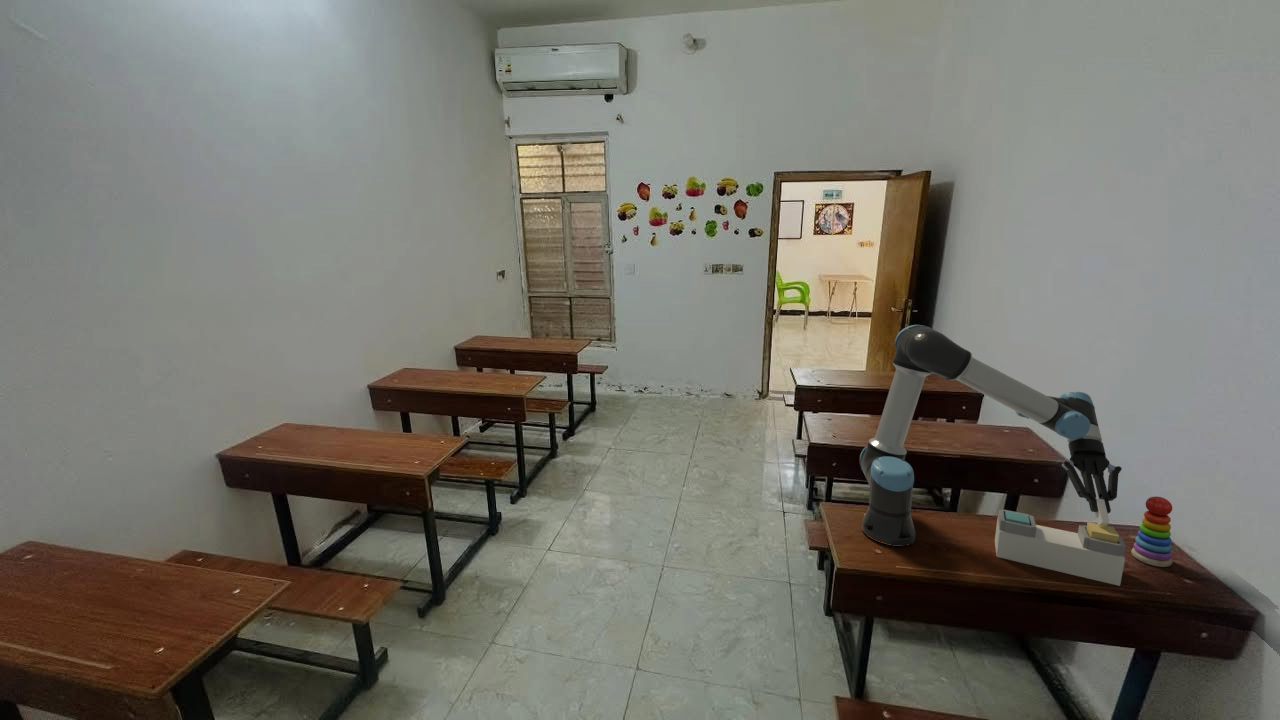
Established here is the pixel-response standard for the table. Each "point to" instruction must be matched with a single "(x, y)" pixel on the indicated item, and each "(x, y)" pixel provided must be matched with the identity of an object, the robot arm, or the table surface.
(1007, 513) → the teal button
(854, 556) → the table surface
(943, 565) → the table surface
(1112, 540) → the mustard button
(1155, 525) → the stacking toy
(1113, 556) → the button console
